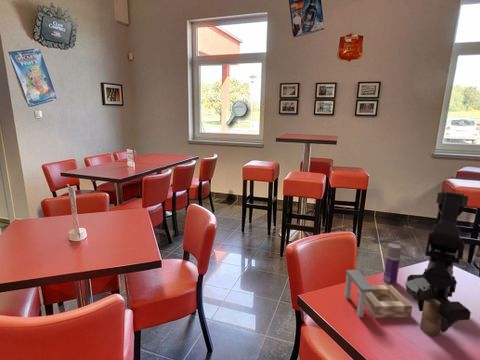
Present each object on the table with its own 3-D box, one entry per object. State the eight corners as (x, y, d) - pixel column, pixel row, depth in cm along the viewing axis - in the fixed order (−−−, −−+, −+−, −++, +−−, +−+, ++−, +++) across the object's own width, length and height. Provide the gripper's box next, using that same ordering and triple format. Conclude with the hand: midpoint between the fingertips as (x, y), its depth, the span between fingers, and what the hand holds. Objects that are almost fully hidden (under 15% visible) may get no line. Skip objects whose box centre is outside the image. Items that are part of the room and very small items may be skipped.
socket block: (390, 295, 105) (391, 285, 104) (410, 317, 93) (412, 305, 92) (357, 295, 104) (358, 285, 103) (374, 317, 92) (375, 306, 92)
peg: (431, 324, 90) (436, 298, 88) (443, 336, 85) (448, 308, 83) (416, 324, 90) (420, 298, 88) (427, 336, 85) (431, 308, 83)
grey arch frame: (354, 295, 104) (357, 269, 102) (371, 317, 92) (374, 289, 90) (343, 295, 104) (346, 270, 102) (358, 317, 92) (362, 289, 90)
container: (398, 285, 111) (403, 249, 108) (384, 284, 112) (389, 247, 109) (394, 279, 116) (399, 243, 113) (381, 277, 116) (386, 242, 114)
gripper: (393, 258, 92) (387, 302, 95) (435, 291, 74) (426, 345, 77) (427, 257, 93) (420, 301, 96) (477, 291, 75) (466, 344, 78)
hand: (431, 320), depth 87 cm, fingers open, 9 cm apart
